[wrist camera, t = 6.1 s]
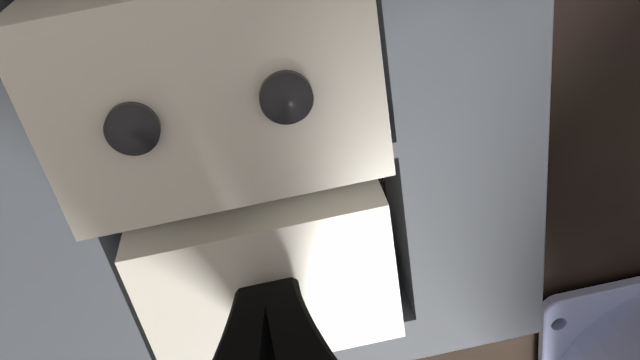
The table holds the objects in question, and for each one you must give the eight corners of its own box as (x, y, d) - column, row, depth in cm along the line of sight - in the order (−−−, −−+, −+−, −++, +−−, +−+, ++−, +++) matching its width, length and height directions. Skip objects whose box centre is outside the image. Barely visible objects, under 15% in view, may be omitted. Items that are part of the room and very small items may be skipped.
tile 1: (360, 101, 14) (398, 180, 11) (108, 152, 14) (74, 248, 11) (335, -80, 12) (372, -45, 9) (39, -22, 12) (-27, 34, 9)
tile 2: (376, 251, 18) (407, 342, 15) (178, 293, 18) (168, 393, 15) (359, 133, 16) (391, 210, 13) (135, 180, 16) (113, 268, 13)
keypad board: (507, 275, 19) (541, 331, 17) (69, 369, 19) (49, 438, 17) (504, -650, 10) (583, -785, 7) (-403, -493, 9) (-594, -588, 7)
